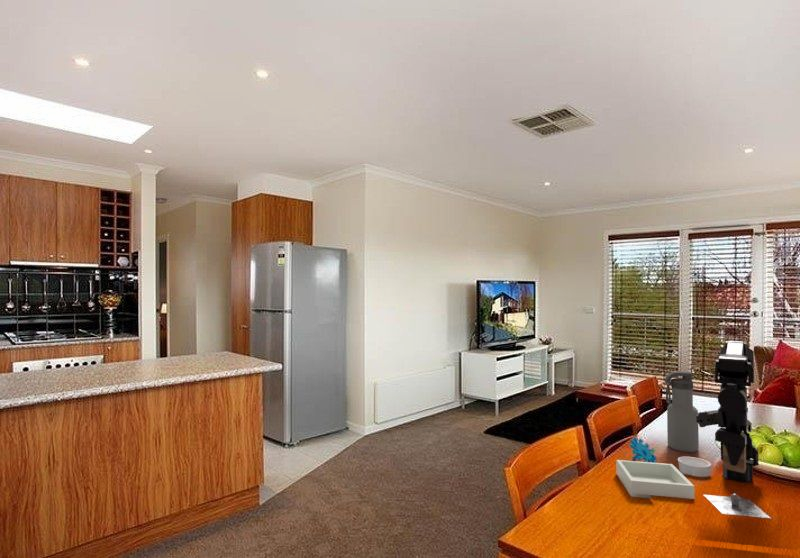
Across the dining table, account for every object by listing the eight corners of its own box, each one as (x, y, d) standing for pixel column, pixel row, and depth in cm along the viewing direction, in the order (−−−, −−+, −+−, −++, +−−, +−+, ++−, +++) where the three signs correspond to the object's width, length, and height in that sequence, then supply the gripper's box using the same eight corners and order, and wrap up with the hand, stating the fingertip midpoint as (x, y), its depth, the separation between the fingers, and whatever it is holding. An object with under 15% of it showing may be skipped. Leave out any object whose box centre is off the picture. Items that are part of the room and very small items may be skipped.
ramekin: (700, 483, 136) (700, 468, 136) (671, 472, 144) (671, 458, 144) (717, 477, 140) (717, 463, 140) (688, 467, 148) (687, 454, 148)
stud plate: (747, 502, 124) (747, 487, 124) (771, 522, 113) (771, 505, 113) (703, 498, 126) (702, 483, 126) (722, 517, 115) (721, 501, 115)
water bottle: (668, 450, 164) (667, 373, 164) (664, 442, 173) (663, 369, 173) (701, 454, 160) (700, 375, 160) (695, 445, 169) (694, 371, 169)
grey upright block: (725, 463, 123) (725, 438, 123) (746, 468, 120) (745, 441, 120) (723, 468, 119) (722, 442, 120) (744, 473, 116) (743, 446, 117)
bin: (672, 478, 139) (672, 464, 139) (694, 502, 123) (694, 486, 123) (616, 474, 142) (616, 459, 142) (631, 496, 127) (631, 480, 127)
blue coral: (644, 464, 146) (626, 436, 153) (631, 473, 149) (615, 445, 156) (666, 464, 150) (648, 436, 157) (653, 472, 154) (636, 444, 161)
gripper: (703, 393, 132) (704, 446, 132) (691, 405, 119) (692, 464, 118) (751, 399, 125) (752, 456, 124) (744, 413, 111) (745, 476, 111)
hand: (734, 462), depth 120 cm, fingers closed on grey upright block, 4 cm apart
